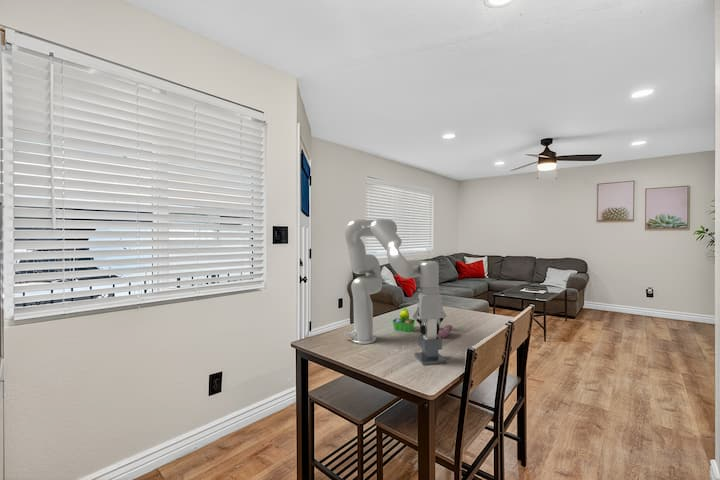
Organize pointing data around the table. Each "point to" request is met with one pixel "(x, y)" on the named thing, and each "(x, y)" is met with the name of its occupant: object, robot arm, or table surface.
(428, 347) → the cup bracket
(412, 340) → the table surface
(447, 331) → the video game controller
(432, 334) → the rail post
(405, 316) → the fruit basket
